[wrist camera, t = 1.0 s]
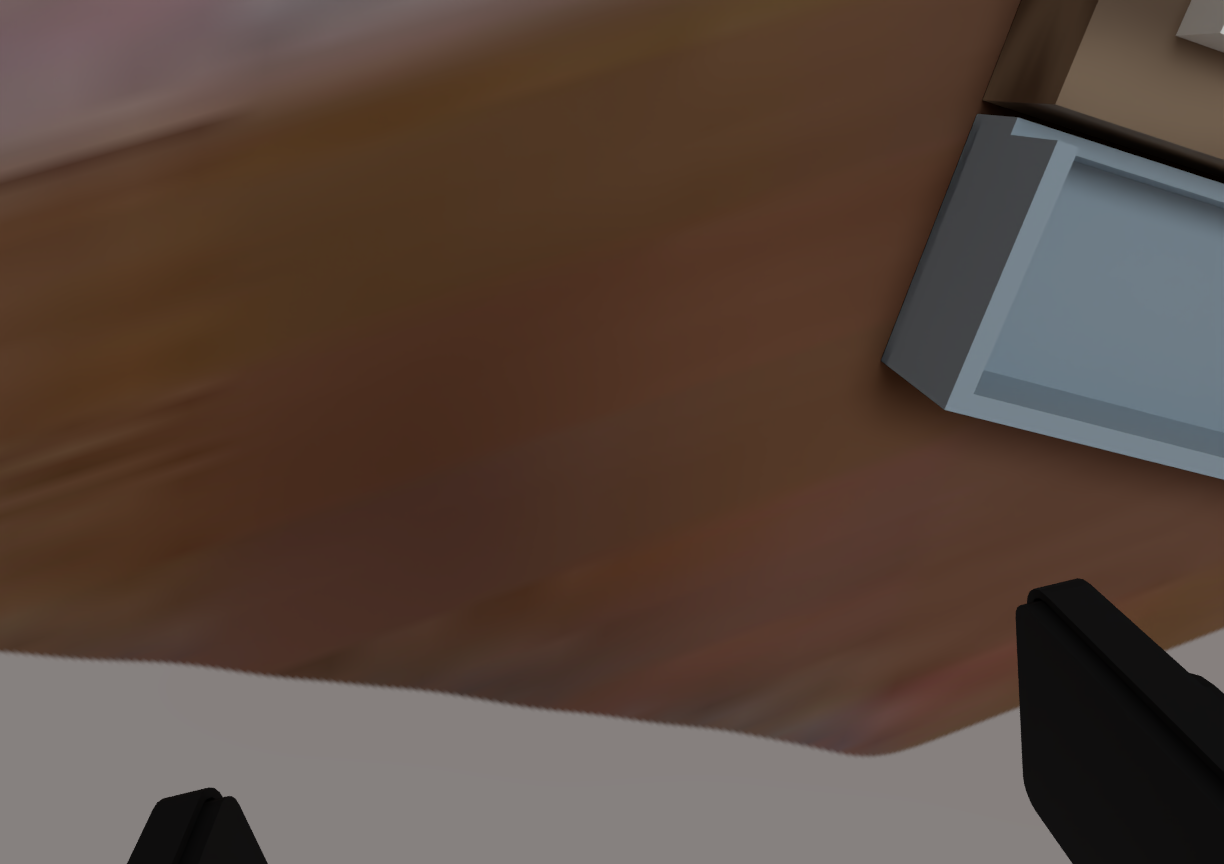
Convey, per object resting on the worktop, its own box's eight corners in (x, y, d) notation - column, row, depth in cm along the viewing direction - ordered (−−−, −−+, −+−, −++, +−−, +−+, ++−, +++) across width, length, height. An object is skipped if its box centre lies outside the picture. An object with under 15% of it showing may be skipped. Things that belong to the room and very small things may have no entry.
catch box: (977, 113, 35) (1065, 121, 29) (1398, 249, 39) (1547, 278, 33) (881, 360, 38) (944, 409, 33) (1278, 463, 42) (1396, 522, 36)
